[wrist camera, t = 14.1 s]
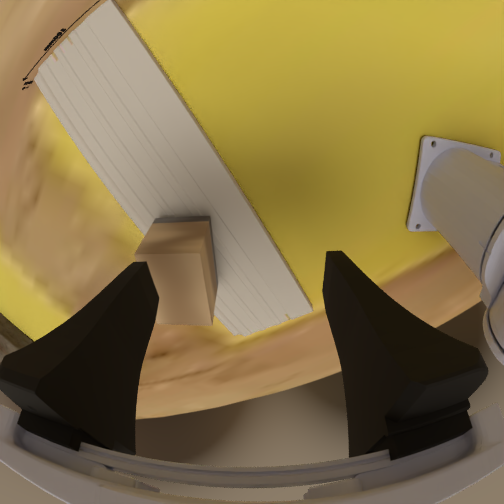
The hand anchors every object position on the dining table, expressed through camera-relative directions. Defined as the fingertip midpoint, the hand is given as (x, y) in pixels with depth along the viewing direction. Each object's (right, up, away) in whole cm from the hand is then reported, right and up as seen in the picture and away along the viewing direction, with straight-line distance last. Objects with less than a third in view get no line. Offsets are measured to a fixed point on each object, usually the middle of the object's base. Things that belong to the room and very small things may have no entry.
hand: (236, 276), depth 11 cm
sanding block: (-4, +1, +10) cm, 11 cm away
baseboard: (-5, +5, +9) cm, 12 cm away
